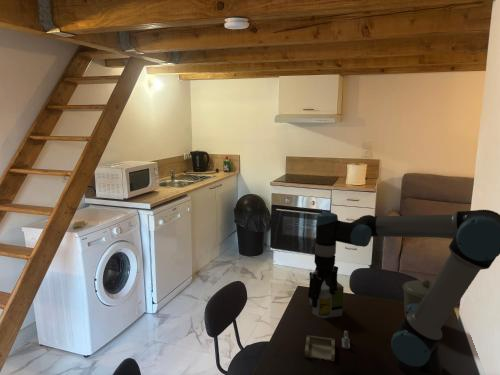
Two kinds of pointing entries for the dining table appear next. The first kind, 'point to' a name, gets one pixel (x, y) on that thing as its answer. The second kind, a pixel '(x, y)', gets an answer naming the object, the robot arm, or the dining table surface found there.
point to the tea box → (335, 301)
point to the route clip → (346, 341)
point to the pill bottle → (324, 301)
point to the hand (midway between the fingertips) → (321, 311)
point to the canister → (415, 291)
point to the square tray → (320, 348)
